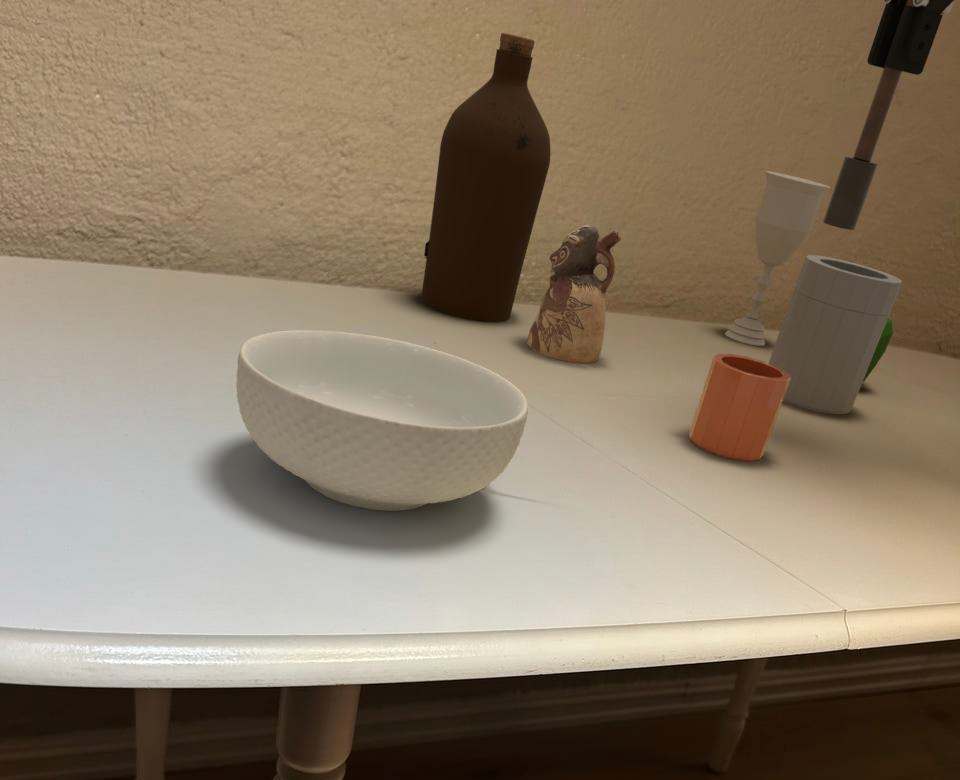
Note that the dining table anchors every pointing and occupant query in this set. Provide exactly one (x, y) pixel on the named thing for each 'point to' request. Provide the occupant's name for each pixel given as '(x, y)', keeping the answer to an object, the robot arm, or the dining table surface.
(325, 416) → the cereal bowl
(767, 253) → the chalice
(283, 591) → the dining table surface
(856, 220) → the brush
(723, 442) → the holder
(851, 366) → the gray cylindrical pot
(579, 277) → the figurine
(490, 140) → the olive oil
